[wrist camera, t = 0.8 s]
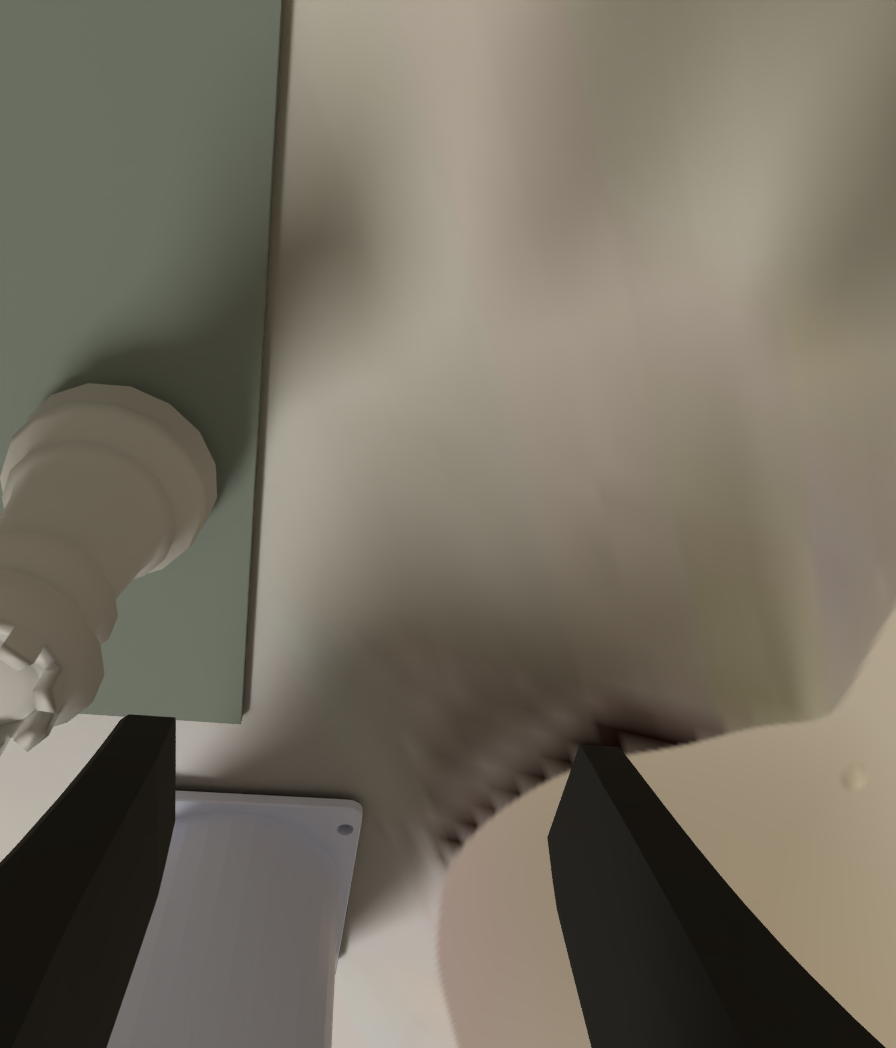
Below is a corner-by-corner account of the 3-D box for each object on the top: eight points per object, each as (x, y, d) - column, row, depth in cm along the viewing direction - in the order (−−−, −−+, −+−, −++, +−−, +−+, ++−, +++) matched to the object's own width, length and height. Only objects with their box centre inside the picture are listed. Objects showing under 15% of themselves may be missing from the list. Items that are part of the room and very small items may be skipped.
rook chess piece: (19, 524, 18) (-199, 781, 11) (29, 352, 16) (-227, 535, 9) (206, 563, 19) (110, 822, 12) (236, 405, 17) (143, 607, 10)
